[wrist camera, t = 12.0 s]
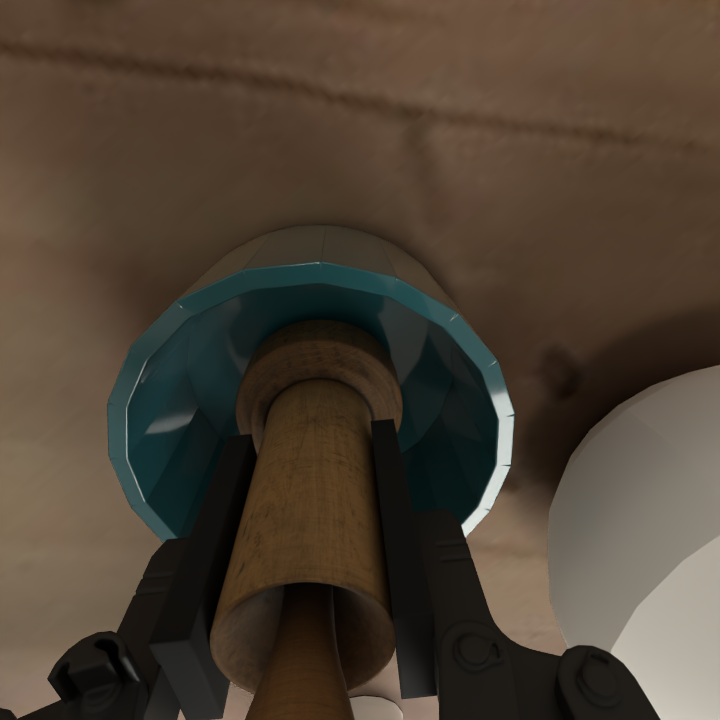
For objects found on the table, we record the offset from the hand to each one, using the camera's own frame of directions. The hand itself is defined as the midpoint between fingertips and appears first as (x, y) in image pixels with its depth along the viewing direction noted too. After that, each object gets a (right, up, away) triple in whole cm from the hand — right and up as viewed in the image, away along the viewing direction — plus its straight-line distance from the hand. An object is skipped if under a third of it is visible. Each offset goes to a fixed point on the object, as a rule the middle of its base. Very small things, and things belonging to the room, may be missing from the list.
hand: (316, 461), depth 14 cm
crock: (0, +3, +6) cm, 7 cm away
